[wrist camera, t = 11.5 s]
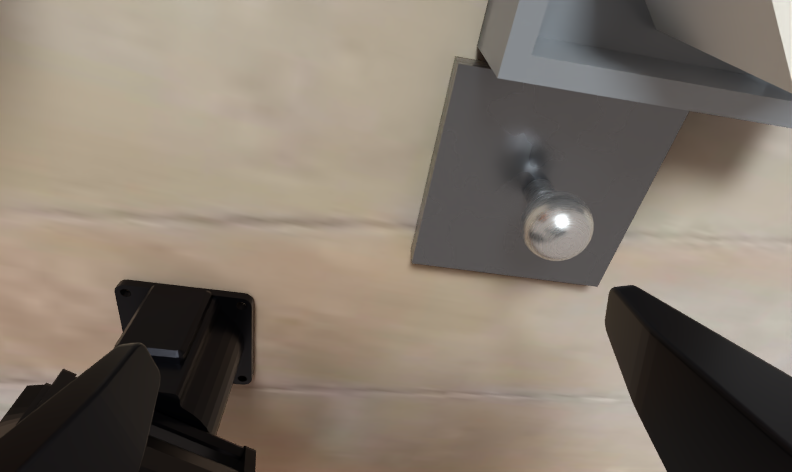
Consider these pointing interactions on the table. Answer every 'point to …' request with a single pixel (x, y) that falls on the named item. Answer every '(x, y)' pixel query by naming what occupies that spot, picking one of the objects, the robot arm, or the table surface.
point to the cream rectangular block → (734, 33)
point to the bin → (620, 59)
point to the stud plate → (536, 177)
